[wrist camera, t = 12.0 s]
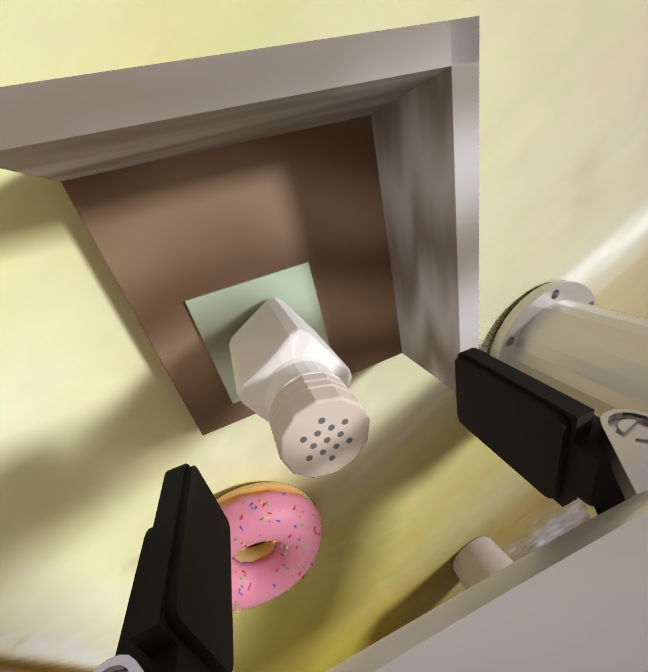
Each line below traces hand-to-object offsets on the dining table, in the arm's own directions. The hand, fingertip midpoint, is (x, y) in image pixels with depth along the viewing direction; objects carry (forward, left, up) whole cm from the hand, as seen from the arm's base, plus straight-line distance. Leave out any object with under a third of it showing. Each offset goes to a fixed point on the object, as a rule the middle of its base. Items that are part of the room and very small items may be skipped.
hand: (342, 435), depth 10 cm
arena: (+3, -1, -11) cm, 11 cm away
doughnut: (-16, +7, -11) cm, 21 cm away
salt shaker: (0, +1, -10) cm, 10 cm away
